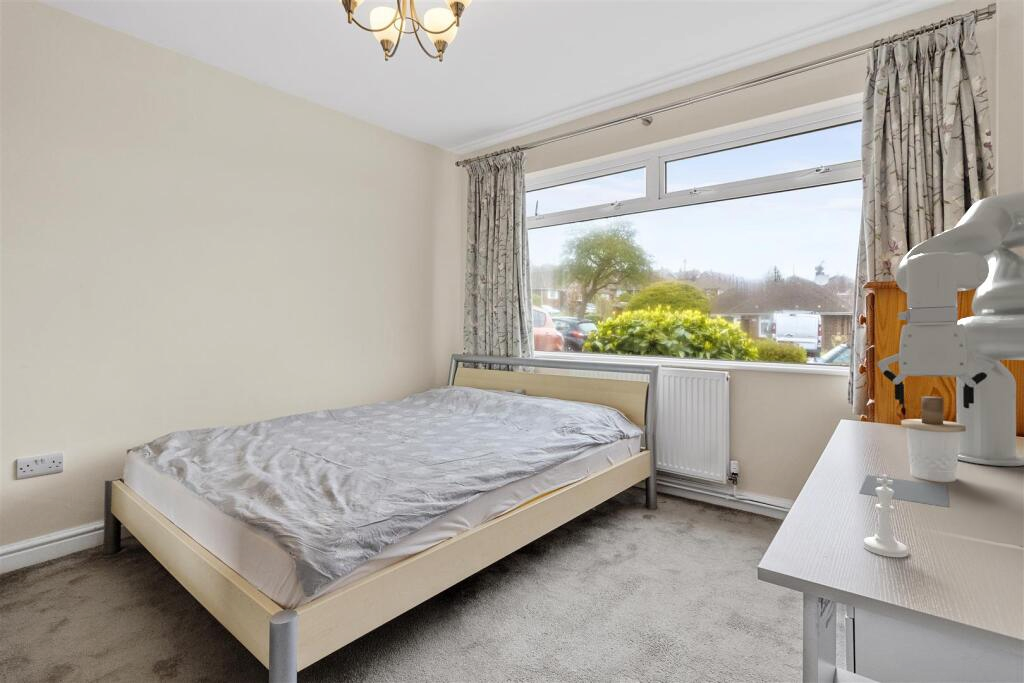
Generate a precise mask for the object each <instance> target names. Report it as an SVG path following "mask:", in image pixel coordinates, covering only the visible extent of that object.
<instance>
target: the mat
mask: <svg viewBox="0 0 1024 683" xmlns="http://www.w3.org/2000/svg"><path fill="white" fill-rule="evenodd" d="M877 478H878V479H882V476H877V475H869V474H866V477H865V478H864V481H863V483H862V486H861V488H860V491H859V493H858V494H860V495H861V494H862V495H867V496H872V497H873V496H874V497H878V495H877V493H876V490H875V489H876V488H877V487H883V483H878V482H877ZM887 480H893V484H887V487H888V488H890V489H892V490H893V491H894V494H893V496H892V499H891V500H893V499H894V500H898V501H906V502H911V503H919V504H924V505H925V504H926V505H930V506H937V507H945V508H950V503H949V494H948V493H949V492H948V485H944V484H936V483H928V482H921V481H915V480H909V479H908V480H906V479H901V478H900V479H899V478H892V477H887Z"/></svg>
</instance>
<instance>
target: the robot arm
mask: <svg viewBox="0 0 1024 683" xmlns="http://www.w3.org/2000/svg"><path fill="white" fill-rule="evenodd" d="M1017 248H1024V189H1023V190H1019V191H1018V190H1017V191H1012V192H1007V193H1002V194H996V195H992V196H988V197H984V198H982V199H980V200H978V201H976V202H975V203H973V205H971V207H970V208H969V209H968V210H967V211H966V212H965V214H964V215H963V217H961V219H960V220H959V222H958V223H957V224H956V225H955V226H954V227H952V228H950V229H947V230H945V231H943V232H941V233H939V234H937V235H934V236H932V237H930V238H928V239H926V240H924V241H922V242H920V243H919V244H917V245H915V246H914V247H912V249H910V250H909V251H908V253H907V254H906V255H905V256H903V259H901V261H900V263H899V264H898V267H897V269H896V274H895V282H896V284H897V286H898V288H899V289H900V290H901V291H903V292H904V293H906V310H905V311H902V312H898V313H897V319H898V320H903V321H906V322H907V324H905V325H904V324H903V325H902V327H901V330H900V337H899V349H898V350H899V352H898V353H896V354H894V355H892V356H889V357H886V358H883V359H882V360H880V361H878V362H876V364H877V366H878V368H879V370H880V371H881V373H882V374H883V376H885V377H886V378H887V379H888V380H890V381H891V383H893V384H894V400H895V401H896V400H897V401H899V402H898V404H899V405H901V406H902V405H904V404H905V384H904V383H903V381H904V380H905V379H906V378H907V377H908V376H909V377H939V378H940V377H942V378H946V377H947V378H956V380H955V381H956V385H955V386H956V387H955V389H956V392H955V393H956V400H955V401H956V405H955V406H956V423H960V424H963V425H965V426H966V431H963V432H959V451H958V461H963V462H966V463H972V464H977V465H978V464H980V465H986V466H988V465H989V466H996V467H997V466H998V467H1021V466H1024V456H1023V455H1019V454H1017V405H1016V404H1017V397H1016V396H1017V383H1016V382H1017V381H1016V379H1015V376H1014V374H1012V372H1011V371H1010V370H1009V369H1008V368H1007V367H1006V366H1005V365H1004V364H1003V363H1002V362H1001V361H1006V360H1008V361H1009V360H1010V361H1015V360H1016V361H1024V257H1023V256H1022V255H1020V254H1019V253H1017V252H1015V251H1012V250H1011V249H1017ZM975 289H976V290H975ZM971 290H975V292H974V295H973V299H972V303H971V310H972V313H973V316H967V317H964V318H960V319H959V320H958V318H959V317H958V314H959V313H958V292H962V291H963V292H964V291H965V292H966V291H971ZM896 362H898V368H899V373H898V374H897V375H896V374H895V373H894V372H893V371H891V370H890V369H889V365H891V364H893V363H896Z"/></svg>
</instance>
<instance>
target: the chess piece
mask: <svg viewBox="0 0 1024 683" xmlns="http://www.w3.org/2000/svg"><path fill="white" fill-rule="evenodd" d="M881 477H882V479H878V478H877V482H878V483H883V487H877V488H876V489H875V490H876V493H877V495H878V496H877V498H878V501H879V503H877V504H875V506H874V508H875V509H877V510H880V512H879V520H878V528H877V533H875V534H874V536H868V537H865V538H864V539H863V540H862V541H863V543H862V547H863V548H864V549H866V550H867V551H869V552H871V553H873V554H876V555H879V556H883V557H887V558H905V557H908V556H909V551H908V550H909V549H908V546H906V545H905V544H904V543H902V542H900V541H898V540H897V538H896V537H894V535H893V531H892V524H891V516H890V515H891V514H890V512H894V511H895V510H896V508H895V507H894V506H893V505H891V501H892V500H893V499H892V496H893V494H894V491H893V490H892V489H890V488H888V487H887V484H893V480H887V478H888V475H887V474H882V476H881Z"/></svg>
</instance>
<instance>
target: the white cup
mask: <svg viewBox="0 0 1024 683" xmlns="http://www.w3.org/2000/svg"><path fill="white" fill-rule="evenodd" d="M906 436H907V440H906V441H907V452H908V461H909V470H910V471H909V472H910V475H911V476H912V477H915V478H916V479H922V480H925V481H931V482H942V483H949V482H950V483H951V482H955V481H956V480H957V468H958V463H959V462H958V461H959V460H958V451H959V432H933V431H923V430H916V429H910V428H906Z"/></svg>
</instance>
